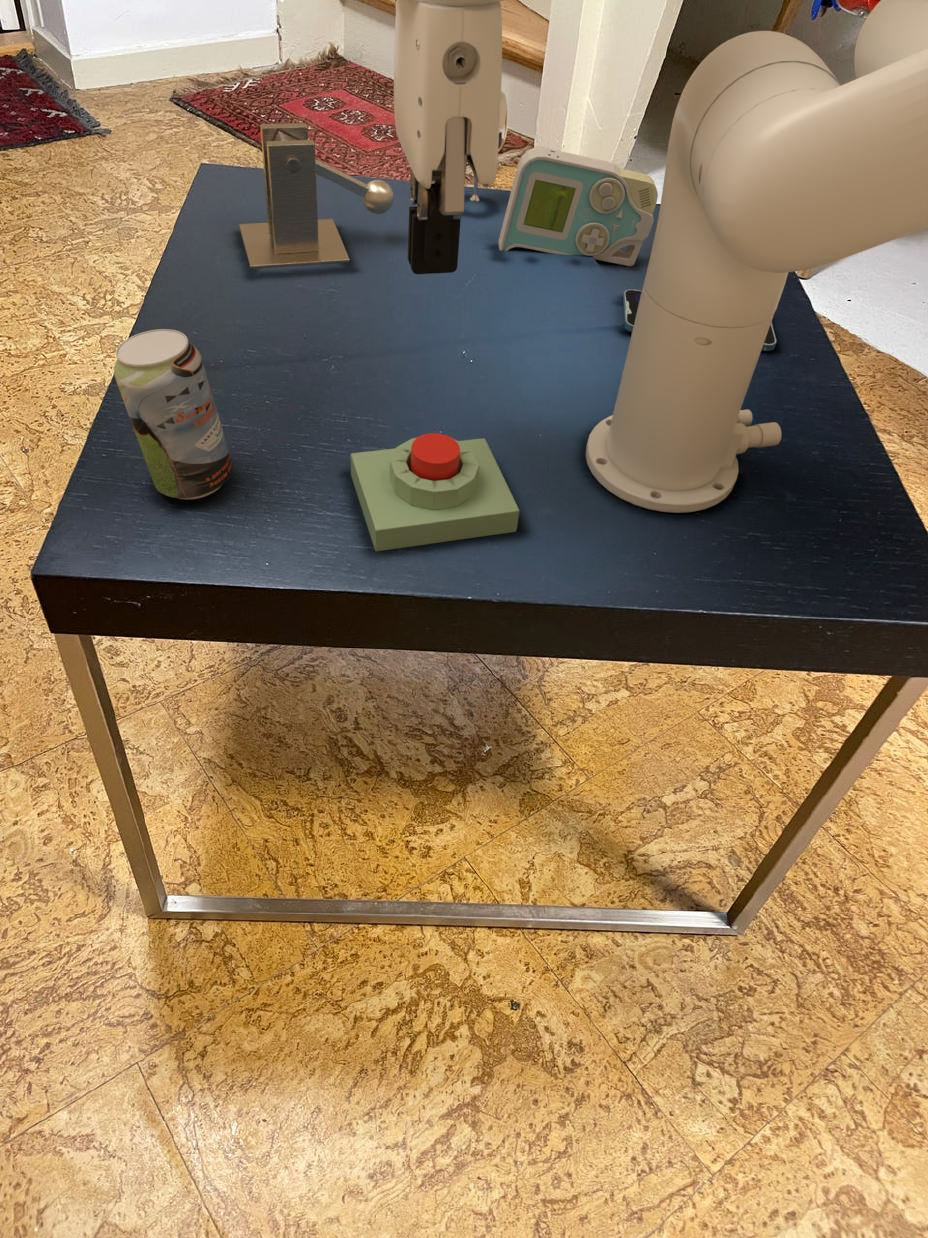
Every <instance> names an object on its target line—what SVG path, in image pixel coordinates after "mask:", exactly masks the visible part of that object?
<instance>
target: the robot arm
mask: <svg viewBox="0 0 928 1238" xmlns="http://www.w3.org/2000/svg"><path fill="white" fill-rule="evenodd" d="M502 1H504V0H396V3H395V6H394V7H395V25H394V47H393V48H394V49H393V50H394V51H393V53H394V55H393V114H394V115H393V116H394V125H395V126H394V127H395V133H396V135H397V139H398V142H399V144H400V146H401V149H402V151H403V153H404V155H405V158H406V160H407V163H408V165H409V192H410V193H409V195H410V197H409V199H410V204H411V205H412V206H408V235H407V261H408V264H409V265H410V269H411V271H412V273H413V274H414V275H430V274H433V275H435V274H451V273H454V272H456V271H457V269H458V266H459V265H458V263H459V250H460V249H459V247H460V235H461V233H460V232H461V222H462V221H461V220H462V216H464V214H465V192H466V191H465V189H466V188H465V186H466V184H465V183H466V176H467V175H466V173H467V166H468V165H469V167H470V169H471V171H472V173H473V176H474V175H475V177H476V178H477V180H478V185H482V187H483V188H490V187H492V186H493V185H494V184H495V181H496V180H497V174H498V173H497V172H498V158H499V152H498V142H499V124H500V104H501V91H502V78H503V75H502V74H503V22H502V4H501V2H502ZM854 47H855V48H854V55H853V62H854V63H853V64H854V75H855V79H853V80H851V81H848V82H846V83H844V84H842V83H841V82H840V81H839V80H838V79H837V77H836V75H834V73H833V72H832V71H831V69H830V68H829V67H828V66H827V64H826V63H825V62H824V61H823V59H822V58H821V57H820V56H819V55H818V54H817V53H816V51H814V50H813V49H811V48H810V47H809V46H808V45H807V44H806V43H804V42H803V41H801V40H799V39H797V38H795V37H793V36H791V35H788V34H786V33H782V32H780V31H774V30H757V31H749V32H746V33H741V34H739V35H737V36H735V37H732V38H730V39H728V40H725V42H722V43H721V44H719V46H717V47H716V48H715V49H714V50H712V51H711V52H710V53H709V54H708V55H706V56H705V58H704V59H702V61H700V63H699V65H697V67H696V68H695V70H694V71H693V72H692V74H691V76H690V77H689V79H688V80H687V82H686V83H685V86H684V88H683V89H682V92H681V95H680V97H679V100H678V102H677V105H676V108H675V111H674V115H673V119H672V122H671V123H672V124H671V129H670V134H669V140H668V146H667V153H666V162H665V169H664V176H663V185H662V193H661V198H660V206H659V210H658V217H657V222H656V228H655V233H654V238H653V241H652V247H651V251H650V256H649V260H648V264H647V268H646V273H645V277H644V281H643V285H642V288H641V291H642V293H641V297H640V301H639V305H638V310H637V314H636V318H635V323H634V327H633V331H632V332H631V337H630V340H629V344H628V349H627V353H626V356H625V360H624V361H625V362H624V366H623V370H622V374H621V379H620V383H619V388H618V391H617V395H616V400H615V404H614V408H613V413H612V415H609V416H607V417H606V418H603V419H602V420H601V421H599V422H598V423H597V424H596V425H595V426H594V427H593V429H592V430H591V431H590V433H589V435H588V438H587V441H586V447H585V448H586V449H585V460H586V464H587V466H588V468H589V470H590V472H591V474H592V475H593V477H594V478H595V479H596V481H597V482H598V483H599V484H600V485H601V486H603V487H604V488H605V489H606V490H607V491H608V492H610V493H612V494H613V495H615V496H616V497H618V498H619V499H621V500H622V501H623V500H624V501H625V502H628V503H629V504H632V505H634V506H637V507H639V508H644V509H647V510H651V511H657V512H662V513H673V514H675V513H676V514H680V513H694V512H698V511H702V510H707V509H709V508H712V507H714V506H716V505H718V504H720V503H721V502H723V501H724V500H726V498H727V497H728V496H729V495H730V494H731V492H733V488H734V487H735V484H736V482H737V479H738V475H739V471H740V469H739V461H738V459H737V455H740V454H743V453H746V452H747V450H748V449H749V448H757V449H758V448H767V447H773V446H778V445H779V444H780V442H781V440H782V430H781V429H782V428H781V426H780V424H779V423H778V422H775V421H774V422H773V421H772V422H765V423H757V424H754V425H752V423H753V418H754V417H753V413H752V411H751V410H750V409H748V408H747V409H742V407H743V403H744V401H745V398H746V395H747V392H748V390H749V386H750V384H751V381H752V378H753V375H754V372H755V370H756V367H757V364H758V361H759V358H760V356H761V352H762V351H763V350H762V347H763V344H764V341H765V339H766V336H767V333H768V330H769V327H770V324H771V321H772V322H773V318H774V315H775V312H776V311H777V309H778V306H779V302H780V300H781V297H782V294H783V291H784V289H785V286H786V282H787V278H788V275H789V273H796V272H800V271H801V272H802V271H805V270H811V269H815V268H818V267H821V266H824V265H828V264H831V263H834V262H837V261H841V260H843V259H846V258H848V257H851V256H854V255H856V254H859V253H862V252H865V251H867V250H870V249H873V248H876V247H879V246H881V245H885V244H886V243H890V242H892V241H895V240H898V239H900V238H903V237H905V236H908V235H911V234H914V233H916V232H919V231H921V230H925V229H927V228H928V0H880V1H879V2H877V4H876V5H874V7H873V9H872V10H871V11H870V12H869V14H868V16H867V17H866V19H865V20H864V23H863V24H862V27H861V29H860V31H859V33H858V36H857V39H856V43H855V46H854ZM467 164H468V165H467Z"/></svg>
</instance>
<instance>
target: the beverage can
mask: <svg viewBox="0 0 928 1238" xmlns="http://www.w3.org/2000/svg"><path fill="white" fill-rule="evenodd" d="M115 356H116V361H115V364H114V367H113V376H114V380H115V382H116V384H117V387H118V390H119V392H120V395H121V398H122V401H123V403H124V406H125V409H126V412H127V414H128V417H129V420H130V422H131V425H132V427H133V430H134V434H135V435H136V439H137V441H138V444H139V447H140V450H141V452H142V455H143V458H144V461H145V463H146V467H147V469H148V472H149V475H150V477H151V481H152V483H153V485H154V488H155V489H156V490H157V492H159V493H160V494H162V495H164V496H166V497H170V498H174V499H179V500H196V499H202V498H204V497H205V498H206V497H207V496H210V495H212V494H213V493H215V492H216V491H218V490H219V489H220V488H221V487H222V486H223V485H224V484H225V483H226V482H227V481H228V480H229V479H230V477H231V476H232V474H233V471H234V470H233V469H234V465H233V461H232V457H231V454H230V451H229V447H228V444H227V439H226V436H225V433H224V430H223V426H222V423H221V420H220V419H221V418H220V416H219V412H218V409H217V405H216V402H215V399H214V395H213V392H212V388H211V385H210V381H209V378H208V374H207V370H206V368H205V364H204V361H203V357H202V354H201V352H200V351H199V349H197V347H196V346H194V344H192V343H191V342H190V341H189V339H188V337H187V335H186V334H184V333H183V332H182V331H178V330H176V329H168V328H159V329H151V330H147V331H143V332H139V333H137V334H134V335H132V336H130V337H128V338H127V339H125V340H124V341H122V342H121V343H120V344H119V345H118V346H117V348H116V350H115Z"/></svg>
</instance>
